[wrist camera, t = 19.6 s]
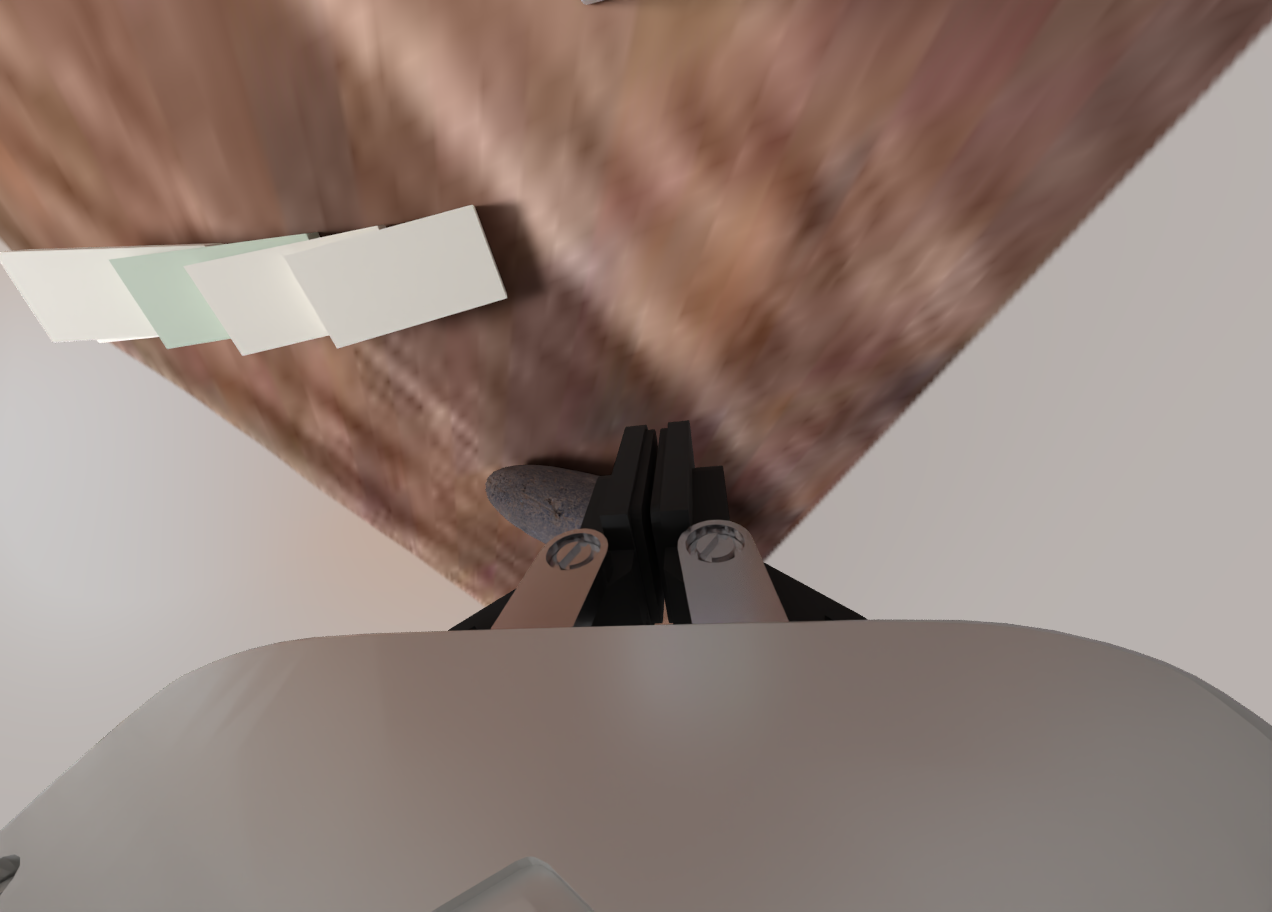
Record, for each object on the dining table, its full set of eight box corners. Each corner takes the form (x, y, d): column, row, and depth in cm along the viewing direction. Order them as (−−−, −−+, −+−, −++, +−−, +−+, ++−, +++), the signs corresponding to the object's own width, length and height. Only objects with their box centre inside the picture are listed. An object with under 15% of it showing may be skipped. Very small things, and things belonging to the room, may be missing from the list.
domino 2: (344, 320, 29) (167, 348, 27) (352, 313, 30) (187, 340, 29) (305, 233, 26) (108, 259, 25) (317, 231, 28) (134, 256, 26)
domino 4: (507, 298, 27) (337, 348, 26) (506, 293, 28) (347, 340, 27) (472, 204, 24) (282, 256, 23) (474, 206, 26) (298, 254, 25)
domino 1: (241, 329, 29) (52, 342, 27) (256, 323, 31) (79, 334, 29) (204, 245, 27) (-7, 252, 25) (222, 243, 29) (26, 249, 27)
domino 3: (415, 314, 28) (242, 355, 26) (419, 308, 30) (257, 347, 28) (377, 225, 25) (183, 266, 24) (384, 224, 27) (203, 262, 26)
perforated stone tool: (497, 481, 37) (459, 539, 31) (507, 428, 34) (468, 480, 28) (669, 539, 38) (664, 605, 32) (693, 492, 35) (693, 555, 29)
